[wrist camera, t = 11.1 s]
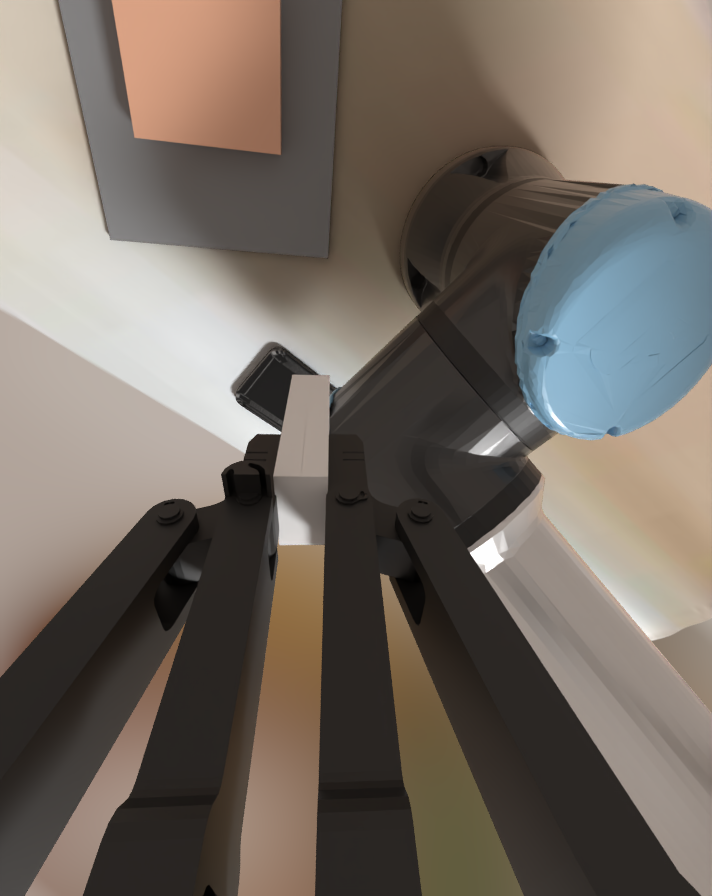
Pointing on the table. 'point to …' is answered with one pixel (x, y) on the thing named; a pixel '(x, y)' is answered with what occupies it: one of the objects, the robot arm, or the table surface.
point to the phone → (272, 386)
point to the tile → (203, 71)
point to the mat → (211, 168)
